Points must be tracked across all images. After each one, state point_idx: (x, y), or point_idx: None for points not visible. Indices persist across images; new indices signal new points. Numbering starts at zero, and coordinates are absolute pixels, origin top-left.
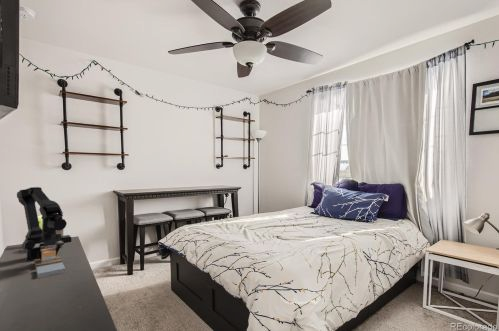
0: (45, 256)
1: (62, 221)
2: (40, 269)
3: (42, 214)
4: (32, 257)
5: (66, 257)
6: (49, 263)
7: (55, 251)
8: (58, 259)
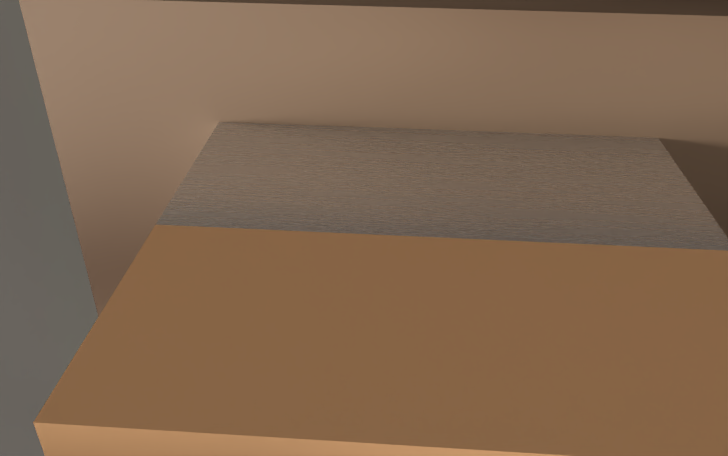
0: (597, 286)
1: None
2: None
3: None
4: None
5: (31, 448)
6: (425, 3)
7: (72, 401)
8: (133, 205)
